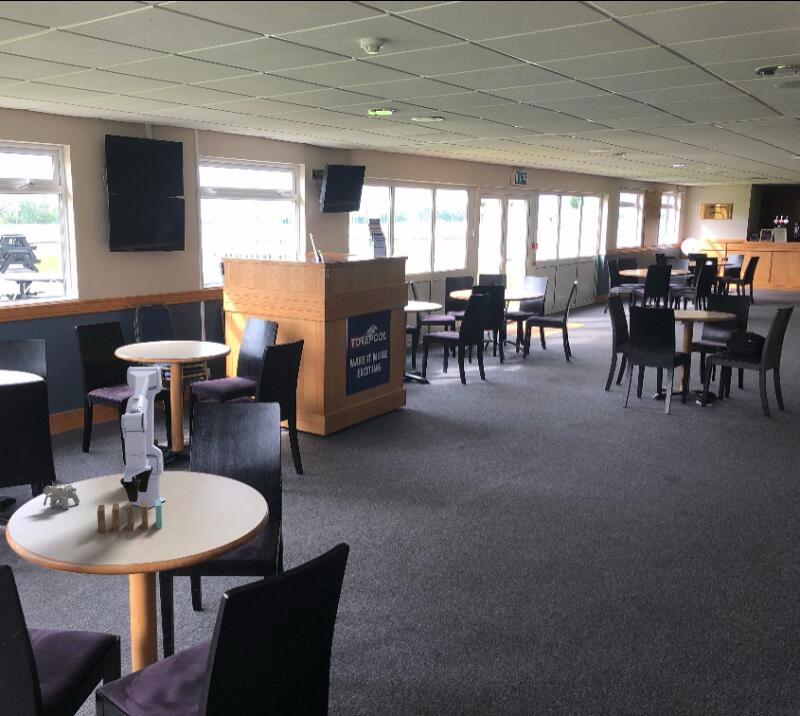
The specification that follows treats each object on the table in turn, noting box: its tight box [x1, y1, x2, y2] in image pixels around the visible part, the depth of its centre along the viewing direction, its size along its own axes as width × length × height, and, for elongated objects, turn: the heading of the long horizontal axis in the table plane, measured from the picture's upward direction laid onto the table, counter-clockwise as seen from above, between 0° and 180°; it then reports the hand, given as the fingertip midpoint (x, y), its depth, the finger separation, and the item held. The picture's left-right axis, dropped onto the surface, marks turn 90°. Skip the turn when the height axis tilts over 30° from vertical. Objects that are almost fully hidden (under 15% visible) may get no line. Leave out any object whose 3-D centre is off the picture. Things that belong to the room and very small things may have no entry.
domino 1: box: [96, 504, 107, 535], centre depth 221 cm, size 2×5×7 cm, turn 17°
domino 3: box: [126, 501, 135, 532], centre depth 224 cm, size 2×5×7 cm, turn 17°
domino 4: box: [140, 501, 149, 530], centre depth 225 cm, size 2×5×7 cm, turn 17°
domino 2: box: [111, 502, 121, 533], centre depth 223 cm, size 2×5×7 cm, turn 17°
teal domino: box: [154, 499, 163, 529], centre depth 226 cm, size 2×5×7 cm, turn 17°
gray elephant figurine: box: [43, 483, 81, 510], centre depth 237 cm, size 9×12×8 cm
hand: (138, 496), depth 223 cm, fingers open, 7 cm apart
